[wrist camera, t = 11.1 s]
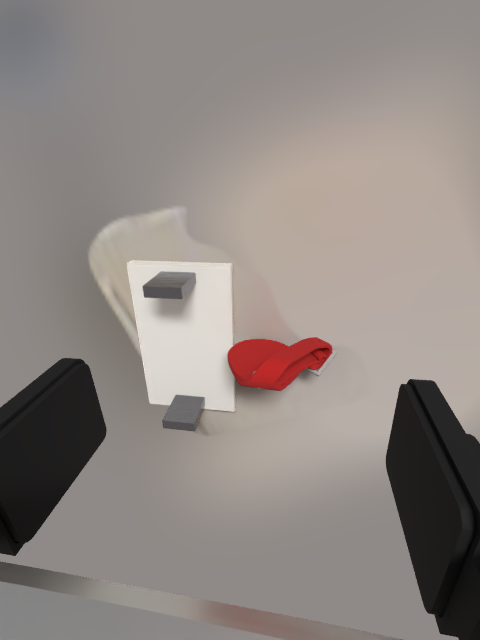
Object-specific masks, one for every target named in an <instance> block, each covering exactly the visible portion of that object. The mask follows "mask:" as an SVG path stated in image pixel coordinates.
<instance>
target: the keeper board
mask: <svg viewBox="0 0 480 640" xmlns="http://www.w3.org/2000/svg"><path fill="white" fill-rule="evenodd" d="M127 269H128V275H129V281H130V287H131V293H132V299H133V305H134V312H135V318H136V324H137V330H138V336H139V342H140V348H141V354H142V360H143V366H144V372H145V378H146V384H147V390H148V396H149V402H150V404H160V405H170V407H169V409H168V410H167V412H166V414H165V416H164V418H163V420H162V422H163V428H170V429H179V430H188V431H195V430H196V427H197V424H198V422H199V419H200V417H201V414H202V411H203V409H211V410H221V411H231V412H235V408H236V382H235V377H234V375H233V373H232V371H231V369H230V367H229V363H228V358H227V354H228V351H229V350H230V348H231V347H232V346H234V345H235V339H234V295H233V264H229V263H197V262H164V261H132V260H131V261H130V262H128V263H127Z"/></svg>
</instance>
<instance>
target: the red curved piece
mask: <svg viewBox="0 0 480 640" xmlns="http://www.w3.org/2000/svg"><path fill="white" fill-rule="evenodd" d="M336 354H337V351H336V350H334V349H332V346H331V345H330V344H329V343H327V342H325V341H323V340H321V339H318V338H307V339H304V340H301V341H299V342H298V343H296V344H294V345H291V346H287V345H285V344H282V343H280V342H277V341H272V340H266V339H251V340H245V341H242V342H239V343H237V344H235V345H234V346H232V347H231V348H230V350H229V351H228V354H227V358H228V363H229V367H230V369H231V371H232V373H233V375H234V377H235V378H236V380H237V381H238V383H239V384H240V385H241V386H247V387H254V388H257V389H269V390H277V391H281V390H283V389H284V388H286V387H287V386H288V385H289V384H290V383H291V382H292V381H293V380H294V379H295V378H296V377H297V376H298V375H299V373H300V372H302V371H303V370H305V369H307V370H308V371H310V372H312V373H314V374H315V375H317V376H319V375H320V374H321V373H322V372H323V370H324V369H325V368H326V366H327V365H328V364H329V363H330V361H331V360H332V359H333V358H334V356H335V355H336ZM320 367H321V368H320ZM318 368H320V369H319V371H315V370H316V369H318Z"/></svg>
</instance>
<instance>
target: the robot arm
mask: <svg viewBox="0 0 480 640" xmlns="http://www.w3.org/2000/svg"><path fill="white" fill-rule="evenodd" d="M105 436H106V426H105V422H104V419H103V415H102V411H101V407H100V404H99V400H98V397H97V393H96V389H95V386H94V382H93V379H92V375H91V371H90V368H89V366H88V365H87V364H85V362H84V361H83V360H81V359H72V358H63V359H61V360H59V361H58V362H57V363H55V364H54V365H53V366H52V367H50V368H49V369H48V370H47V371H45V372H44V373H43V374H42V375H40V376H39V377H38V378H37V379H36V380H34V381H33V382H32V383H31V384H29V385H28V386H27V387H26V388H25V389H23V390H22V391H21V392H19V393H18V394H17V395H16V396H14V397H13V398H12V399H11V400H9V401H8V402H7V403H6V404H4V405H3V406H2V407H1V408H0V553H2V554H7V555H13V556H16V554H17V553H18V552H19V550H20V549H21V548H22V546H23V544H25V543H26V542H28V541H30V540H31V539H32V538H33V537H34V535H35V534H36V533H37V531H38V530H39V529H40V527H41V526H42V524H43V523H44V522H45V520H46V519H47V517H48V516H49V515H50V513H51V512H52V510H53V509H54V508H55V506H56V505H57V504H58V502H59V501H60V500H61V498H62V496H63V495H64V494H65V493H66V491H67V490H68V489H69V487H70V486H71V484H72V483H73V482H74V480H75V479H76V477H77V476H78V475H79V473H80V472H81V471H82V469H83V468H84V466H85V465H86V464H87V462H88V461H89V459H90V458H91V457H92V455H93V454H94V453H95V451H96V450H97V449H98V447H99V446H100V444H101V443H102V442H103V440H104V438H105ZM386 468H387V473H388V476H389V480H390V484H391V487H392V491H393V494H394V498H395V502H396V506H397V509H398V513H399V517H400V520H401V524H402V527H403V531H404V535H405V539H406V542H407V546H408V549H409V553H410V557H411V561H412V564H413V568H414V571H415V575H416V579H417V583H418V586H419V590H420V594H421V597H422V601H423V604H424V607H425V609H426V611H427V612H428V613H429V614H434V615H435V618H436V622H437V625H438V628H439V632H440V634H444V635H449V636H455V637H458V638H459V640H480V444H479V442H478V441H477V439H476V438H475V437H474V436H472V435H470V434H466V433H465V431H464V430H463V428H462V426H461V424H460V423H459V421H458V419H457V418H456V416H455V415H454V413H453V411H452V410H451V408H450V406H449V405H448V403H447V402H446V400H445V398H444V396H443V395H442V393H441V392H440V390H439V388H438V386H437V385H436V383H435V382H434V381H431V380H414V379H410V380H409V381H408V382H407V384H401V386H400V388H399V394H398V399H397V403H396V408H395V414H394V419H393V424H392V430H391V434H390V439H389V444H388V449H387V454H386ZM0 640H401V639H396V638H391V637H387V636H382V635H377V634H373V633H368V632H364V631H359V630H354V629H350V628H345V627H340V626H335V625H331V624H326V623H322V622H317V621H312V620H306V619H301V618H296V617H291V616H286V615H281V614H276V613H271V612H265V611H260V610H255V609H250V608H245V607H239V606H234V605H229V604H224V603H219V602H214V601H208V600H204V599H198V598H193V597H188V596H183V595H178V594H172V593H167V592H162V591H156V590H151V589H145V588H141V587H135V586H130V585H124V584H119V583H114V582H108V581H103V580H98V579H92V578H87V577H81V576H76V575H71V574H66V573H61V572H54V571H50V570H44V569H39V568H32V567H27V566H22V565H17V564H11V563H6V562H0Z"/></svg>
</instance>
